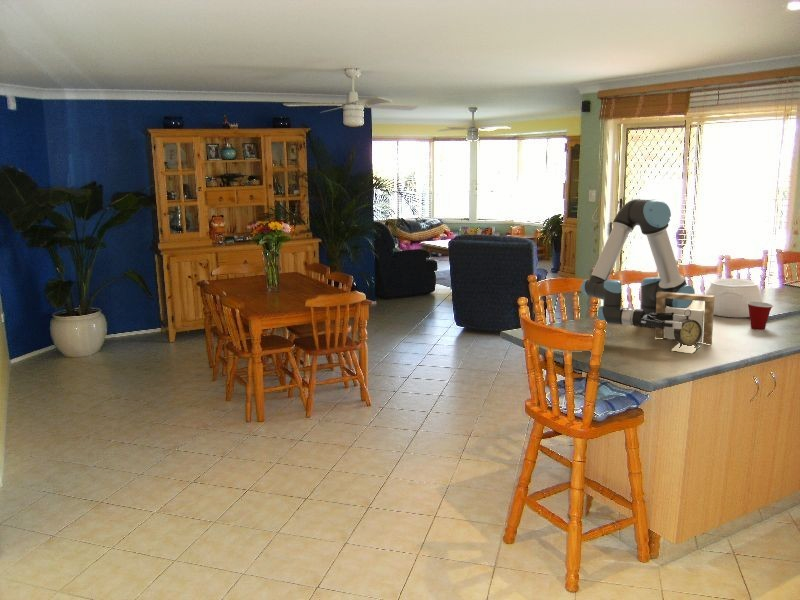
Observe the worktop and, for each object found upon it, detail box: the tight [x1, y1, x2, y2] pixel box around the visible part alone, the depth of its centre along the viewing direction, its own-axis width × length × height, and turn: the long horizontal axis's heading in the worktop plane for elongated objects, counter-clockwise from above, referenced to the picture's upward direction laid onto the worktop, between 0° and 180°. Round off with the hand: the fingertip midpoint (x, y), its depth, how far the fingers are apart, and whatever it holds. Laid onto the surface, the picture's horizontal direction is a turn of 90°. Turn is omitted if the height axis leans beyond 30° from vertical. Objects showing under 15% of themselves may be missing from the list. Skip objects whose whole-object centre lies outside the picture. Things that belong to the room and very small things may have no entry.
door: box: [663, 307, 705, 344], centre depth 299 cm, size 15×2×14 cm, turn 55°
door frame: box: [654, 291, 715, 345], centre depth 298 cm, size 23×4×21 cm, turn 54°
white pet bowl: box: [705, 278, 764, 319], centre depth 347 cm, size 29×26×16 cm
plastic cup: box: [747, 301, 774, 331], centre depth 316 cm, size 11×11×12 cm
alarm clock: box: [674, 308, 702, 348], centre depth 287 cm, size 11×5×16 cm, turn 105°
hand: (685, 322), depth 287 cm, fingers open, 13 cm apart
